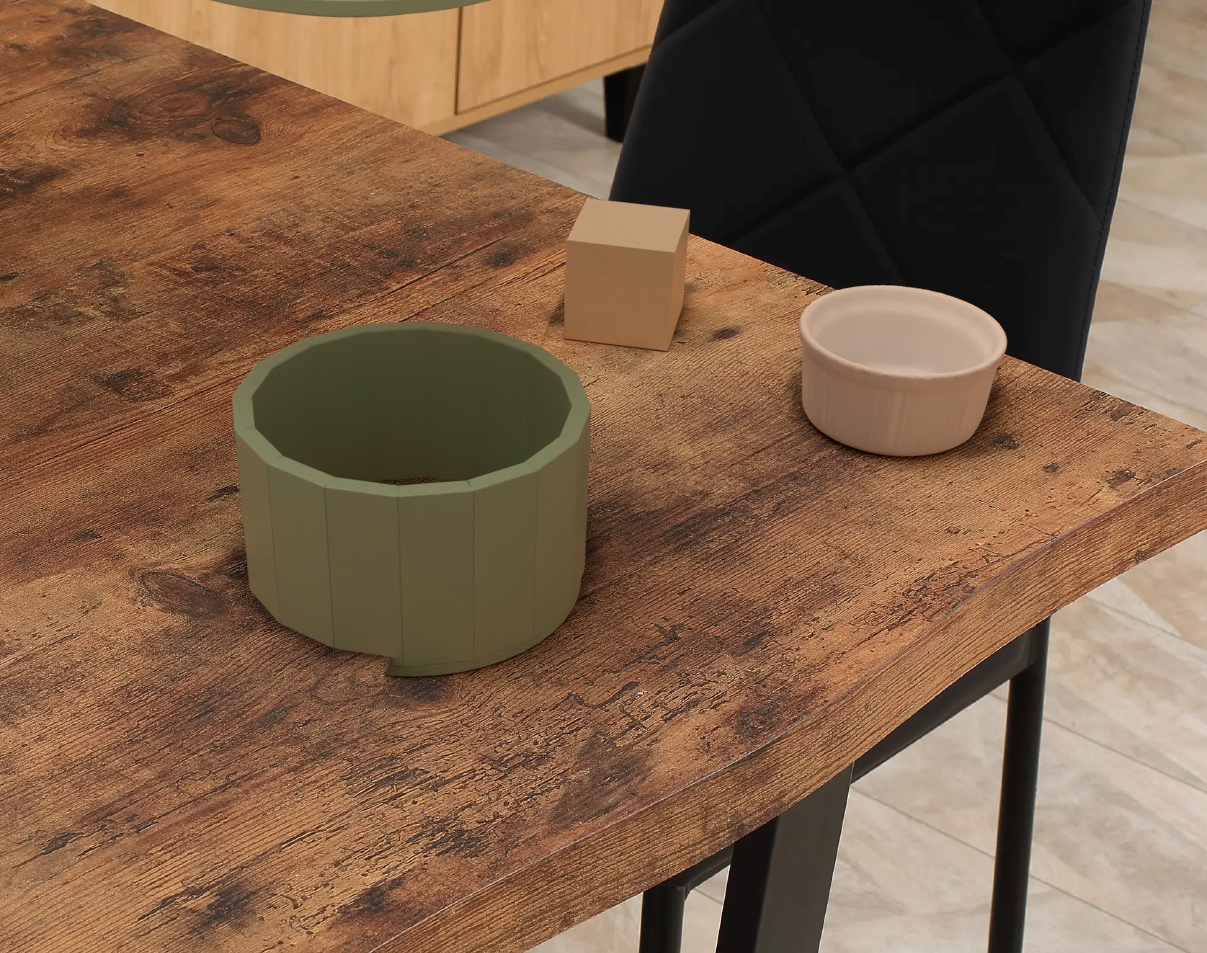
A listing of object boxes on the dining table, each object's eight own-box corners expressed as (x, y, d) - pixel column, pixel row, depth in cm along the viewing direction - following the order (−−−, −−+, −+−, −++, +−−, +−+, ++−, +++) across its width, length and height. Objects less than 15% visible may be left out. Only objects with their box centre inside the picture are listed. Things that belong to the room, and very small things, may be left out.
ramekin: (753, 423, 76) (762, 334, 73) (846, 350, 82) (858, 265, 79) (938, 489, 72) (955, 397, 69) (1021, 407, 78) (1039, 320, 75)
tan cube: (563, 338, 81) (566, 239, 79) (583, 293, 85) (586, 198, 83) (667, 351, 81) (675, 252, 78) (683, 305, 85) (690, 209, 82)
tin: (199, 649, 61) (178, 466, 57) (310, 471, 71) (299, 304, 66) (543, 700, 59) (548, 516, 55) (607, 510, 69) (616, 343, 65)
